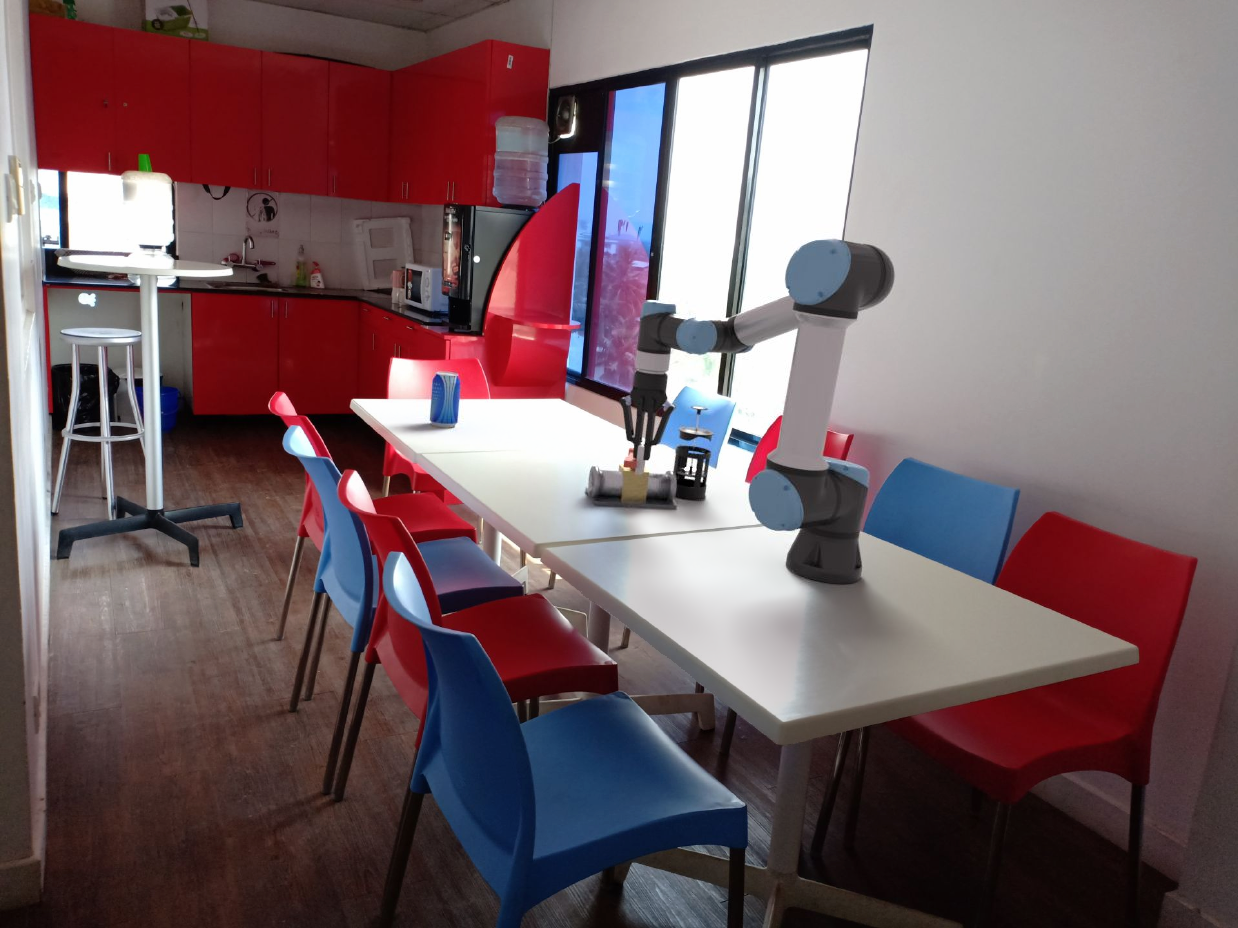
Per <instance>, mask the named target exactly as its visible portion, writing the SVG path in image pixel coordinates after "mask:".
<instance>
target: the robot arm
mask: <svg viewBox="0 0 1238 928" xmlns="http://www.w3.org/2000/svg"><path fill="white" fill-rule="evenodd" d="M784 275H785V277H784V282H785V288H786V289H787V290H788V292H787V293H784V294H781V295H780V296H777V297H775V298H772V299H771V300H767V301H765V302H763V303H760V304H758V305H756V306H753V307H751V308H749V309H746V310H744V311H741V312H739V313H736V314H734V315H733V316H730V317H707V316H706V317H705V316H694V315H692V316H690V315H685V314H678V313H677V305H676V304H675V303H673V302H671V301H664V300H663V301H662V300H657V299H656V300H655V299H654V300H653V299H647V300H645V301H643V303H642V307H641V312H640V317H639V328H638V338H637V346H636V347H637V349H636V357H635V363H634V367H635V368H636V370H635V371H634V374H633V380H632V381H633V383H632V389H631V390H630V392H629V395H627V396H624V397H622V398H620V399H619V405H620V406H621V408H622V411H623V419H624V421H623V422H624V429H625V435H626V437H625V438H626V440H627V441H628V442H630V443H632V444H633V448H634V450H633V458H635V459H637V466H636V470H635V474H639V475H641V474H643V473H644V468H646V467H645V465H646V461H649V460H650V458H651V452H652V447H654V446H657V445H659V444H660V443H661V440H662V438H663V435H664V433H665V430H666V427H667V425H668V423H669V420H670V418H671V415H672V414H673V412H675V410H676V409H677V406H676V405H675V404H672V403H671V402H670V401H669V400H668V395H667V387H668V379H669V378H668V377H669V375H668V373H667V372H668V371H670V370H669V368H670V361H671V353H672V350H677V351H681V352H684V353H686V354H688V355H700V356H701V355H706V354H707V353H710V354H711V353H717V354H720V353H721V354H733V355H737V354H738V355H739V354H745V353H749V352H750V351H752V349H753V348H754V347H755V345H757V344H760V343H762V342H765V341H768V340H771V339H773V338H776V337H778V336H781V335H784V334H786V333H790V332H792V331H794V330H795V331H796V330H797V333H796V338H795V344H794V348H793V349H794V350H793V355H792V359H791V360H792V361H791V367H790V371H789V378H788V383H787V389H786V395H785V401H784V407H783V412H782V418H781V422H780V428H779V435H778V440H777V444H776V448H774V449H773V450H772V451H770V452H769V453H767V456H766V461H765V465H764V466H765V467H764V469H763V470H761V471H759V472H757V474H756V475H754V476H753V477H752V479H751V481H750V484H749V486H748V487H749V488H748V503H749V505H750V506H749V507H750V509H751V511H752V512H753V513H754V516H755V518H756V519H757V521H758V522H759V523H760V525H761V524H762V525H763V526H764V527H765V528H767V529H768V530H771V531H776V532H783V531H785V532H793V531H797V530H799V531H798V534H797V535H796V537H795V539H794V541H793V542H792V544H791V545H790V548H789V549H788V552H787V555H786V560H785V566H786V567H787V569H789V570H790V571H791V572H793V573H795V574H797V575H799V576H801V577H804V578H807V579H810V580H812V581H813V580H814V581H816V582H822V583H828V584H840V585H841V584H845V585H846V584H852V583H856V582H858V581H860V580H861V577H862V572H863V562H862V556H861V548H860V543H859V539H860V532H861V528H862V522H863V517H864V511H865V508H866V507H865V506H866V502H867V496H868V491H869V490H870V486H869V484H870V477H871V476H870V471H869V470H868V469H867V468H866V467H864V466H862V465H860V464H856V463H853V462H850V461H847V460H842V459H839V458H834V457H829V456H824V451H825V446H826V439H827V435H828V428H829V424H830V418H831V413H832V407H833V403H834V402H833V401H834V396H835V391H836V386H837V380H838V375H839V370H840V366H841V359H842V354H843V349H844V343H845V337H846V334H847V329H848V328H849V327H850V326H852V325H853V324H854V323H856V322H857V321H858V316H859V312H862V311H864V310H869V309H870V308H873V307H875V306H877V305H879V304H880V303H882V302H883V301H884V300H885V299H886V298H887V297H888V296H889V294H890V293H891V291H892V289H893V287H894V282H895V277H896V275H895V268H894V265H893V262H892V260H891V258H890V256H889V255H888V254H887V253H886V252H885V251H884V250H882V249H881V248H879V247H877V246H876V245H873V244H867V243H860V242H859V243H858V242H853V241H849V240H842V239H837V238H823V237H822V238H814V239H811V240H808V241H806V242H804V243H803V244H802V245H801V246H800V247H799V248H797V250H795V251H794V253H793V254H792V255H791V257H790V259H789V261H788V264H787V265H786V270H785V274H784ZM632 403H633V405H634V407H635V409H636V419H635V420H636V421H635V427H634V421H633V413H632V407H631V405H632ZM662 407H663V411H664V412H663V414H662V416H661V418H660V422H659V424H658V427H657V429H656V432H655V434H654V431H655V425H656V423H655V422H656V416H657V412H658V411H659V410H660V409H662ZM646 413H647V417H646V419H647V420H646V428H645V437H644V443H642V442H643V434H644V433H643V432H644V426H645V425H644V424H645V416H646ZM634 428H635V429H634Z"/></svg>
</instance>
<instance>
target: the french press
mask: <svg viewBox="0 0 1238 928" xmlns="http://www.w3.org/2000/svg"><path fill="white" fill-rule="evenodd" d="M690 408H691V409H693V410H696V415H697V418H696V424H695V425H696V426H695V427H693V426H680V427H678V431H679V435H678V438H679V439H681V440H683V441H685V442H686V441H687V442H690V441H693V440H694V441H693V445H687V444H679V445H677V446H676V447H675V453H674V454H675V456H674V465H673V471H674V472H675V475H676V481H677V488H676V495H675V499H680V500H684V501H694V502H698V501H704V500H706V498H707V495H706V492H707V491H706V490H707V479H708V473H709V465H710V459H711V457H712V450H710V449H707V448H705V447H701V446H696V441H697V438H703V439H707V440H709V442H712V437H713V436H715V435H714V434H715V432H713V431H712V430H709V429H705V428H701V427H699V418H700V415H702V414H701V413H702V411H708V410H709V409H708V408H707V407H705V406H700V405H693V406H690ZM688 459H691V462H690V466H689V467H688V466H687V465H688ZM694 459H695V460H696V466H695V467H693V461H694ZM687 477H688V478H687ZM693 478H694V479H693Z"/></svg>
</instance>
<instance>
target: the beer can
mask: <svg viewBox="0 0 1238 928" xmlns="http://www.w3.org/2000/svg"><path fill="white" fill-rule="evenodd" d="M431 383H432V385H431V397H430V409H429V410H430V411H429V412H430V413H429V421H430V422H431V425H432V426H433V427H436V428H444V429H449V428H451V429H452V428H454V427H456V425H457V424H458V423H459V422H458V420H459V412H460V411H459V410H460V409H459V408H460V395H461V386H462V385H461V380H460V377H459V374H458V373H455V372H451V371H437V372H435V375H434V377H433V379H432V382H431Z"/></svg>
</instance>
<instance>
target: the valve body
mask: <svg viewBox="0 0 1238 928" xmlns="http://www.w3.org/2000/svg"><path fill="white" fill-rule="evenodd" d="M623 466H624V464H619V465H618V470H603V469H600V468H599V466H595V465H592V466H591V467H590V469H589V474H588V483H587V485H588V486H587V487H585V490H584V492H585V491H586V492H585V493H586V495H587V494H588V495H587V496H588V498H589V499H590V501H591V502H592V504H593V505H594V506H595V507H596V506H597V507H598V506H599V507H615V508H617V507H618V508H634V509H637V508H638V509H653V510H654V509H656V510H672V511H673V510H677V509H678V505H677V504H676V503H675V502H674V500H675V499H676V497H675V495H676V488H677V481H676V475H675V472H674V470H667V471H666V472H665V473H652V472H649V470H648V469H647V468H646V467H645V468H644V473H643V474H641V475H639V474H635V470H636V469H632V468H625V467H623Z"/></svg>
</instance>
